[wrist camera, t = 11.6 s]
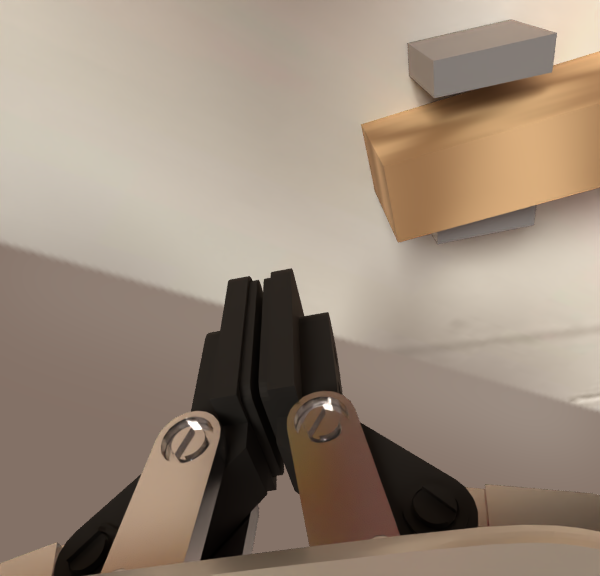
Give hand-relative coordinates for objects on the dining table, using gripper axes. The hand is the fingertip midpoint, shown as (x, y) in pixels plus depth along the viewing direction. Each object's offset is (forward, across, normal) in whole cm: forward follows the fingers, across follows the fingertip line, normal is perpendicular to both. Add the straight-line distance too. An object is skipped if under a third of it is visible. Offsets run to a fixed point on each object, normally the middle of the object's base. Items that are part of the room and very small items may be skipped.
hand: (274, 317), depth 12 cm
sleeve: (+11, -8, 0) cm, 13 cm away
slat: (+11, -12, 0) cm, 16 cm away
